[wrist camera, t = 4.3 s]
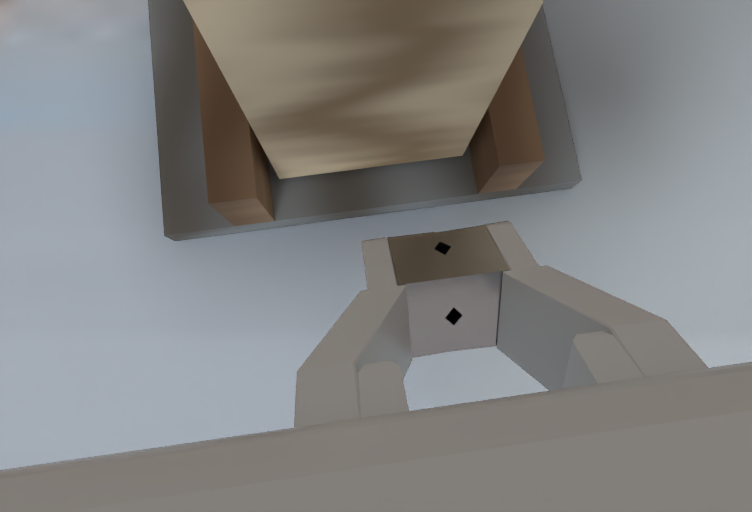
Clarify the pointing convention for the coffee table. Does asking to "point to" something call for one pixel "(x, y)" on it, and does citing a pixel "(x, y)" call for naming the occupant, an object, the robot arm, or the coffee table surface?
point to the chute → (344, 188)
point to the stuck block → (362, 74)
